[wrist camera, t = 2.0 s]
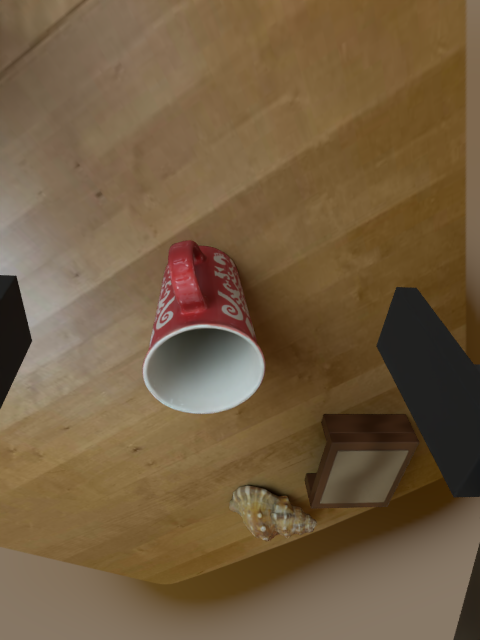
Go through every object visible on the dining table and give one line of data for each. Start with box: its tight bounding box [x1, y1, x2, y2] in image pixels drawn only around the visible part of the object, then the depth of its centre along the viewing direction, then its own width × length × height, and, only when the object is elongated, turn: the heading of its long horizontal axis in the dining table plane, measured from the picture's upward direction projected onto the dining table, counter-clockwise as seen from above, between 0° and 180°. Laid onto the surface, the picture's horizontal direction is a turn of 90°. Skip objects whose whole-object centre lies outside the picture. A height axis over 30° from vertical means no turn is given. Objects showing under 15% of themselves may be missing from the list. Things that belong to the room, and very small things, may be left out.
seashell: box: [229, 486, 317, 541], centre depth 65 cm, size 9×8×10 cm
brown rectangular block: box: [305, 414, 419, 508], centre depth 60 cm, size 11×14×5 cm
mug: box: [142, 241, 265, 414], centre depth 37 cm, size 13×9×14 cm
